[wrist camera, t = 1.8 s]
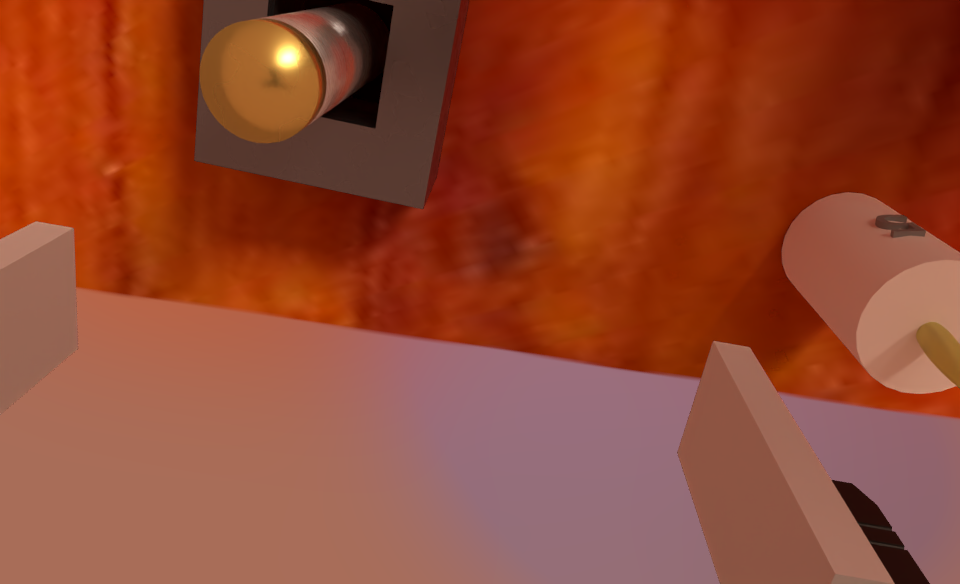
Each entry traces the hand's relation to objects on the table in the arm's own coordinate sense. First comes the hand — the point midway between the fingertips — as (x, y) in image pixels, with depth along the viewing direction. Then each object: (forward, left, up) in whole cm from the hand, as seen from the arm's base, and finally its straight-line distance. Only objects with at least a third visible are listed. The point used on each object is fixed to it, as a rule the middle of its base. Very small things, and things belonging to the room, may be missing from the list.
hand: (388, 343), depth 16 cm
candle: (+3, +21, -27) cm, 35 cm away
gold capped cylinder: (-2, -7, -27) cm, 28 cm away
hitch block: (-2, -7, -27) cm, 28 cm away
